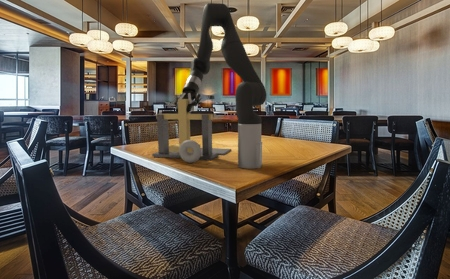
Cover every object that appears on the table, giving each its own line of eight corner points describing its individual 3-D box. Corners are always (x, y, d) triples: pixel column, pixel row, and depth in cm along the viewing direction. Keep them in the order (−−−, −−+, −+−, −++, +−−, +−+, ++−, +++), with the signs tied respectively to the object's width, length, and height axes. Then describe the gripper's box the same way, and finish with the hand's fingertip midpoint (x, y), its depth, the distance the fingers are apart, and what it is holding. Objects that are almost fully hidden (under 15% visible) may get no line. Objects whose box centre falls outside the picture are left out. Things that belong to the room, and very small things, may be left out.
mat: (231, 150, 142) (231, 149, 142) (223, 155, 129) (223, 153, 129) (197, 148, 148) (197, 147, 148) (186, 153, 134) (186, 151, 134)
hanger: (215, 149, 126) (215, 98, 123) (208, 153, 117) (207, 98, 114) (164, 147, 134) (162, 99, 131) (153, 150, 125) (151, 99, 122)
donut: (178, 163, 112) (177, 140, 110) (181, 161, 115) (180, 139, 114) (200, 164, 109) (199, 140, 108) (202, 162, 113) (202, 139, 111)
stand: (217, 156, 126) (217, 113, 124) (210, 160, 117) (210, 114, 114) (162, 153, 135) (161, 113, 132) (152, 156, 126) (150, 114, 123)
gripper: (176, 81, 130) (165, 105, 121) (203, 80, 126) (193, 105, 116) (181, 92, 136) (171, 116, 126) (207, 92, 132) (198, 116, 122)
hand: (182, 111), depth 121 cm, fingers open, 5 cm apart
